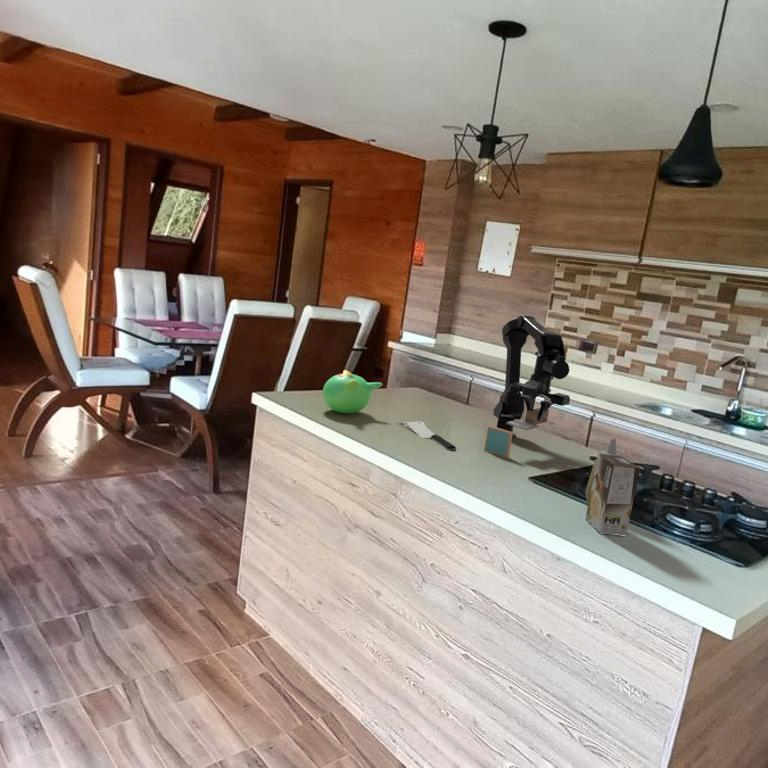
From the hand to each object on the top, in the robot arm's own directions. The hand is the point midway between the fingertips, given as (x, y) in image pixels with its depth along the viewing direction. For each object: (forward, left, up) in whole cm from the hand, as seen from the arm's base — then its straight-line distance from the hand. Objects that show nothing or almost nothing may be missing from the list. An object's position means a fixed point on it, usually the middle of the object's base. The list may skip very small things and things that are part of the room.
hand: (534, 419), depth 203 cm
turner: (+3, 0, -1) cm, 3 cm away
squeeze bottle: (+32, +36, -11) cm, 50 cm away
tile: (+14, -4, -7) cm, 16 cm away
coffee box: (+44, +42, -11) cm, 62 cm away
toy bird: (+23, -60, -11) cm, 65 cm away
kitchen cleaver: (+19, -27, -11) cm, 35 cm away
